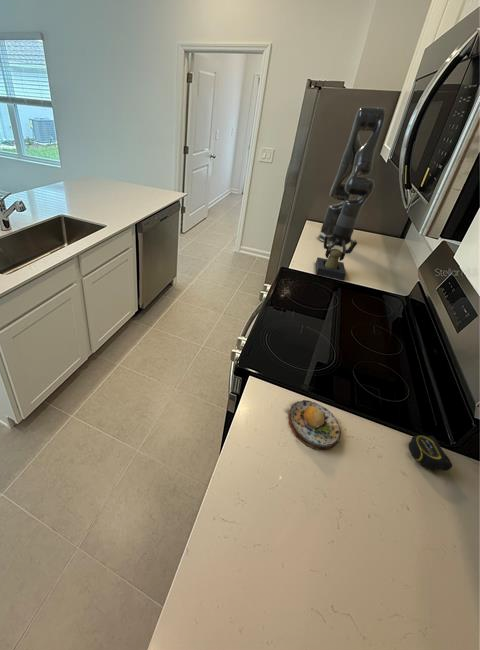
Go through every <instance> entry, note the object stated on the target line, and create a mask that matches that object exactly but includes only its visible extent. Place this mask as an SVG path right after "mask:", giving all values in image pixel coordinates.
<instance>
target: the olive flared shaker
mask: <svg viewBox="0 0 480 650" xmlns="http://www.w3.org/2000/svg"><path fill="white" fill-rule="evenodd" d="M342 252H343V251H342V250H341V249H339V248H332V249H331V250H330V254H329V257H328V258H327V259H328V260H327V261H326V263H325V265H324V267H327V268H332V269H337V265H338V262H339V261H340V260H339V258H340V257H341V255H342Z"/></svg>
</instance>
